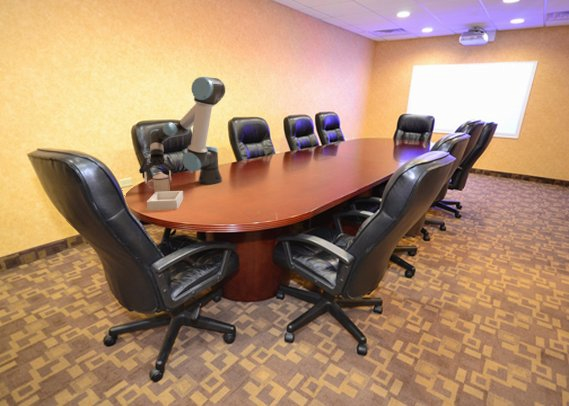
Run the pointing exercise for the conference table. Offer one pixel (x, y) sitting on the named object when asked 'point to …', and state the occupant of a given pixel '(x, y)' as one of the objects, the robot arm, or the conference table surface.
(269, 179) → the conference table surface
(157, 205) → the white open tray
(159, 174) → the teacup with lid
